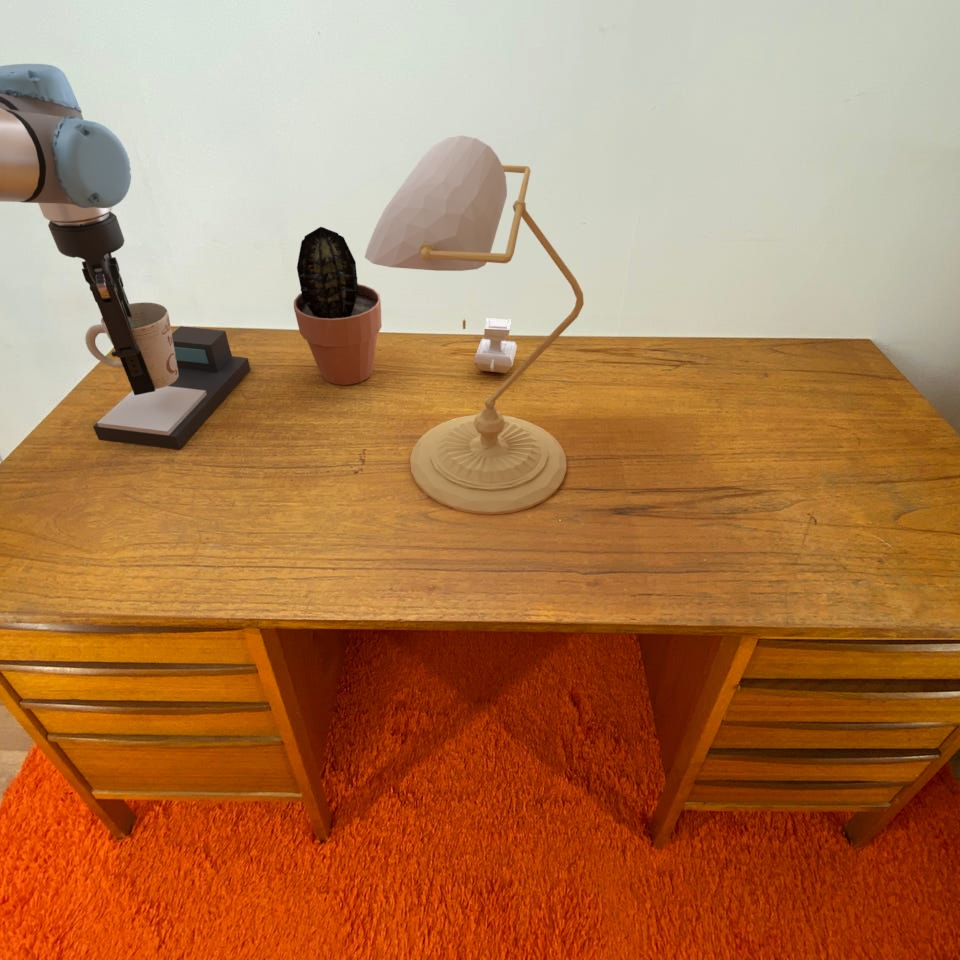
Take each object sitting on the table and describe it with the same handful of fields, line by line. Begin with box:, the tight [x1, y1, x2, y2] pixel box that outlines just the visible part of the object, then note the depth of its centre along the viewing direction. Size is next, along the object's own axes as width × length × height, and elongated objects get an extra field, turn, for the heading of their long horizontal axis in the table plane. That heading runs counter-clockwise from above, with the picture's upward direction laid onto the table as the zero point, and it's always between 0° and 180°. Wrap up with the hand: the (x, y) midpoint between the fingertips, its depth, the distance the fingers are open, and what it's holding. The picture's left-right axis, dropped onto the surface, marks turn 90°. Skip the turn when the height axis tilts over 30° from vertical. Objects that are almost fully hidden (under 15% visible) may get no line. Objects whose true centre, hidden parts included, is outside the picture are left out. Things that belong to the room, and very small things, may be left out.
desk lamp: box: [364, 135, 585, 516], centre depth 79 cm, size 31×23×40 cm
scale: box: [92, 325, 252, 451], centre depth 100 cm, size 23×13×7 cm, turn 170°
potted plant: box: [293, 226, 383, 386], centre depth 102 cm, size 14×14×25 cm
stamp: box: [473, 317, 518, 374], centre depth 109 cm, size 9×7×8 cm
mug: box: [84, 301, 179, 389], centre depth 90 cm, size 8×13×10 cm, turn 91°
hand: (143, 379), depth 92 cm, fingers closed on mug, 6 cm apart
